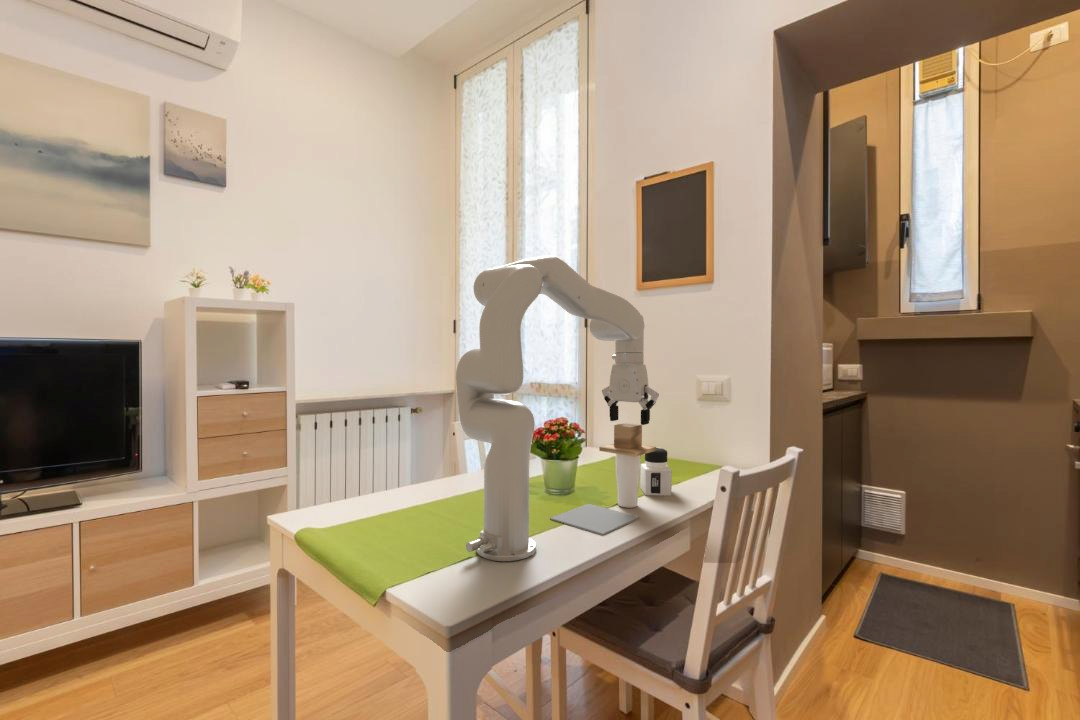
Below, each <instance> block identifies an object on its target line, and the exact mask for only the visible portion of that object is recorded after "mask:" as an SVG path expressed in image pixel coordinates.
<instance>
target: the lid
mask: <svg viewBox="0 0 1080 720" xmlns="http://www.w3.org/2000/svg"><path fill="white" fill-rule="evenodd" d="M613 427H614V428H613V443H611V444H606V445H602V446H599V452H605V453H609V454H615V455H616V454H621V455H627V456H633V457H636V456H639V455H641V456H642V455H645V454H646V453H650V452H653V451H656V448H657V446H652V445H645V444H642V443H643V425H641V423H640V424H639V423H629V422H624V423H618V424H614V425H613Z"/></svg>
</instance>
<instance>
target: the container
mask: <svg viewBox="0 0 1080 720" xmlns="http://www.w3.org/2000/svg"><path fill="white" fill-rule="evenodd" d="M672 473H673V471H672V469H671V468H670V467H669V465H668V451H667V450H666V449H664V448H662V447H656V451H653V452H650V453H646V454H644V463H641V467H640V485H639V486H640V487H639V488H640V489H641V491H642V493H643V494H644V495H645V496H657V497H658V496H663V495H664V497H665V496H667V497H669V496H672V486H673V485H672V484H673V483H672V481H673V480H672V478H673V477H672V476H673V474H672Z"/></svg>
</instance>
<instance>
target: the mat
mask: <svg viewBox="0 0 1080 720" xmlns="http://www.w3.org/2000/svg"><path fill="white" fill-rule="evenodd" d="M639 518H641V517H640V516H638V515H633V514H629V513H626V512H622V511H619V510H615V509H612V508H607V507H603V506H599V505H596V504H591V503H587V504H583V505H581V506H578V507H576V508H573V509H570V510H567V511H565V512H562V513H559V514H557V515H554V516H551V517H550V518H549V520H550V519H551V521H554V522H557V523H560V522H561V523H562V524H563V523H564V524H565V525H568V526H570V527H574V528H577V529H581V530H584V531H586V532H590V533H594V534H597V535H601V536H604V535H607V534H609V533H611V532H614V531H616V530H617V529H620V528H621V527H624V526H626V525H629V524H630V523H633V522H635V521H638V520H639ZM561 523H560V524H561ZM564 524H563V525H564Z"/></svg>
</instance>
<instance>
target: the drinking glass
mask: <svg viewBox="0 0 1080 720" xmlns="http://www.w3.org/2000/svg"><path fill="white" fill-rule="evenodd" d="M614 458H615V459H614V460H615V463H614V464H615V479H616V489H617V490H616V491H617V505H618V506H619V507H621V508H624V509H625V508H626V509H632V508H636V507H637V506H638V503H639V501H638V500H639V499H638V498H639V488H640V487H639V486H640V485H639V484H640V479H641V464H642V455H639V456H636V457H633V456H627V455H621V454H615V457H614Z"/></svg>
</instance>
